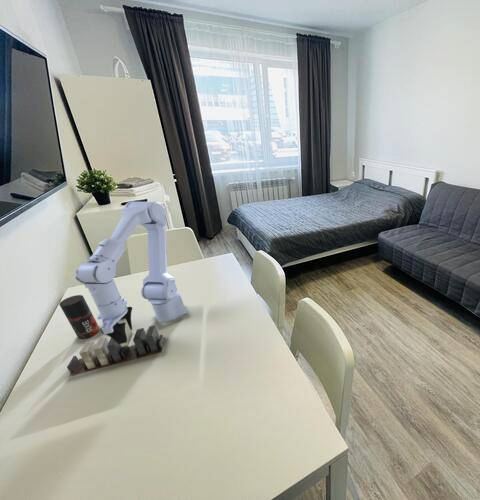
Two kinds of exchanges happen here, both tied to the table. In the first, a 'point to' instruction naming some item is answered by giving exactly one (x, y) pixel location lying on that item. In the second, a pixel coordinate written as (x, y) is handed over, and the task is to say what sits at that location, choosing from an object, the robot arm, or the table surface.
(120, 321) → the cream book
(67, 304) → the deodorant
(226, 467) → the table surface
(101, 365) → the book rack
